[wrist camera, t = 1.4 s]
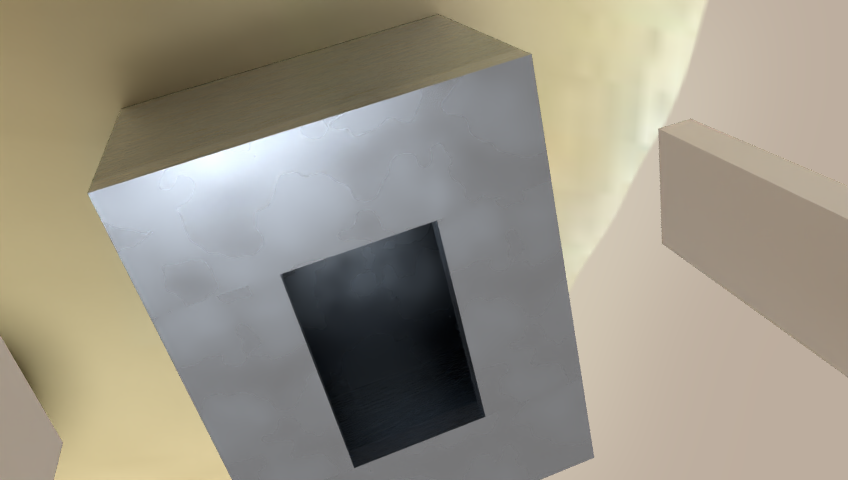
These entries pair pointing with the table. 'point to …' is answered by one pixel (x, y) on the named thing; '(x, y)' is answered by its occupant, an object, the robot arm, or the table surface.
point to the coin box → (358, 260)
